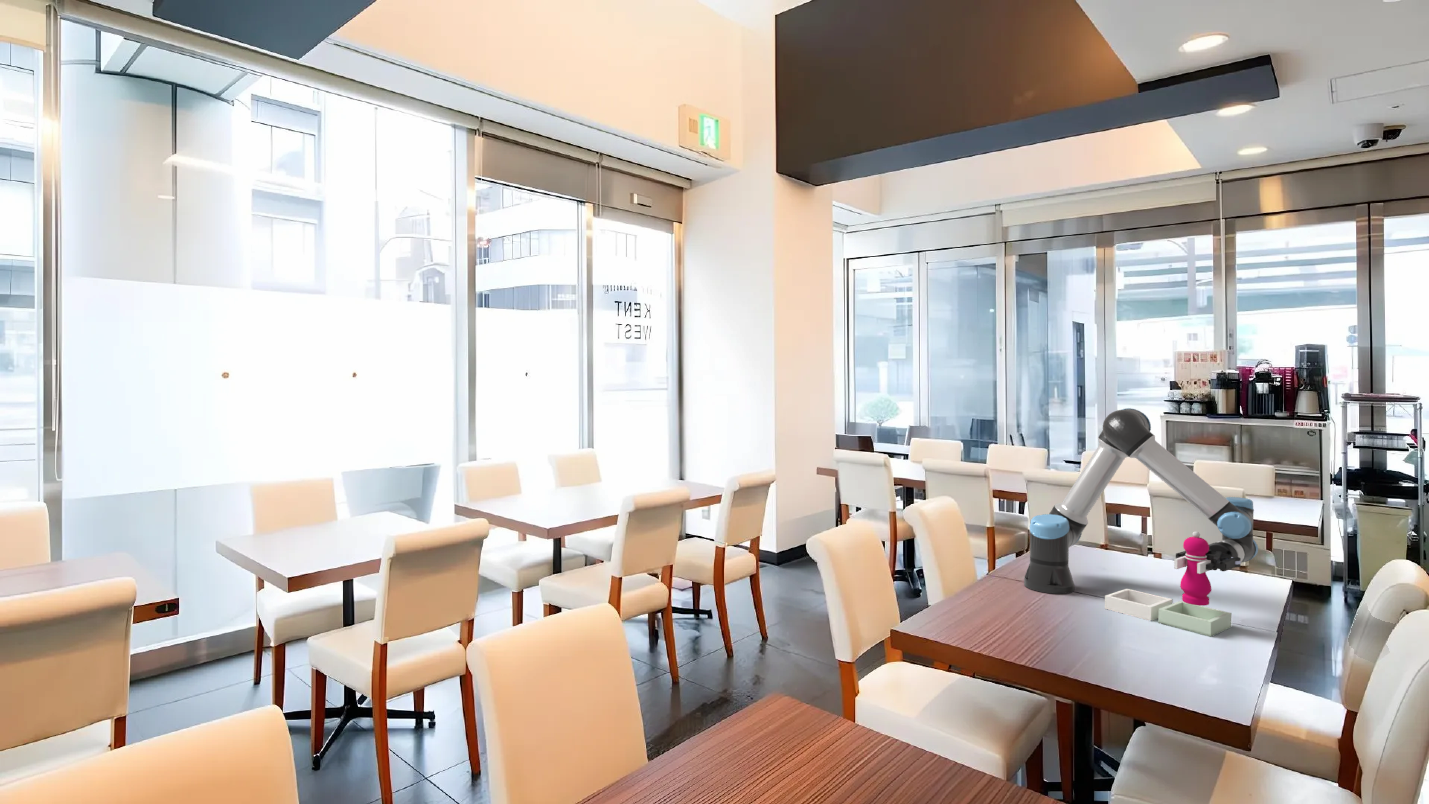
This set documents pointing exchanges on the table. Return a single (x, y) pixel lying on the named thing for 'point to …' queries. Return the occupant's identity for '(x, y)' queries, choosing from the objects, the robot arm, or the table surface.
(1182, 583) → the pepper mill
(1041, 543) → the robot arm
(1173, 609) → the tray
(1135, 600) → the bin
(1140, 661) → the table surface
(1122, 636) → the table surface
